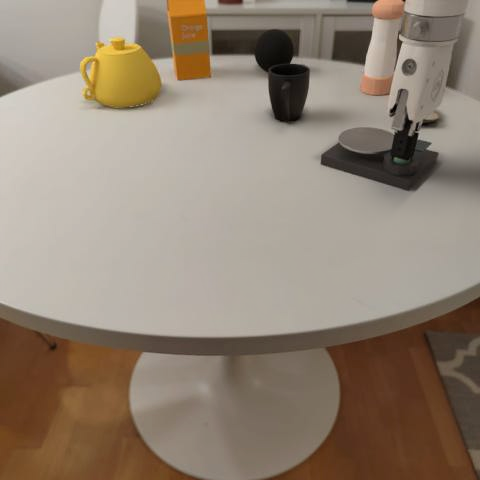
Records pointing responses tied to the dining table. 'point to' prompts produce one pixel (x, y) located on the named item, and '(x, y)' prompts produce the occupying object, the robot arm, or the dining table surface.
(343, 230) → the dining table surface
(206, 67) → the orange juice
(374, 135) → the scale pan
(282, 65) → the mug
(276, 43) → the decorative ball
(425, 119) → the seashell
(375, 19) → the salt shaker
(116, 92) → the teapot
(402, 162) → the tare button
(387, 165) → the scale
